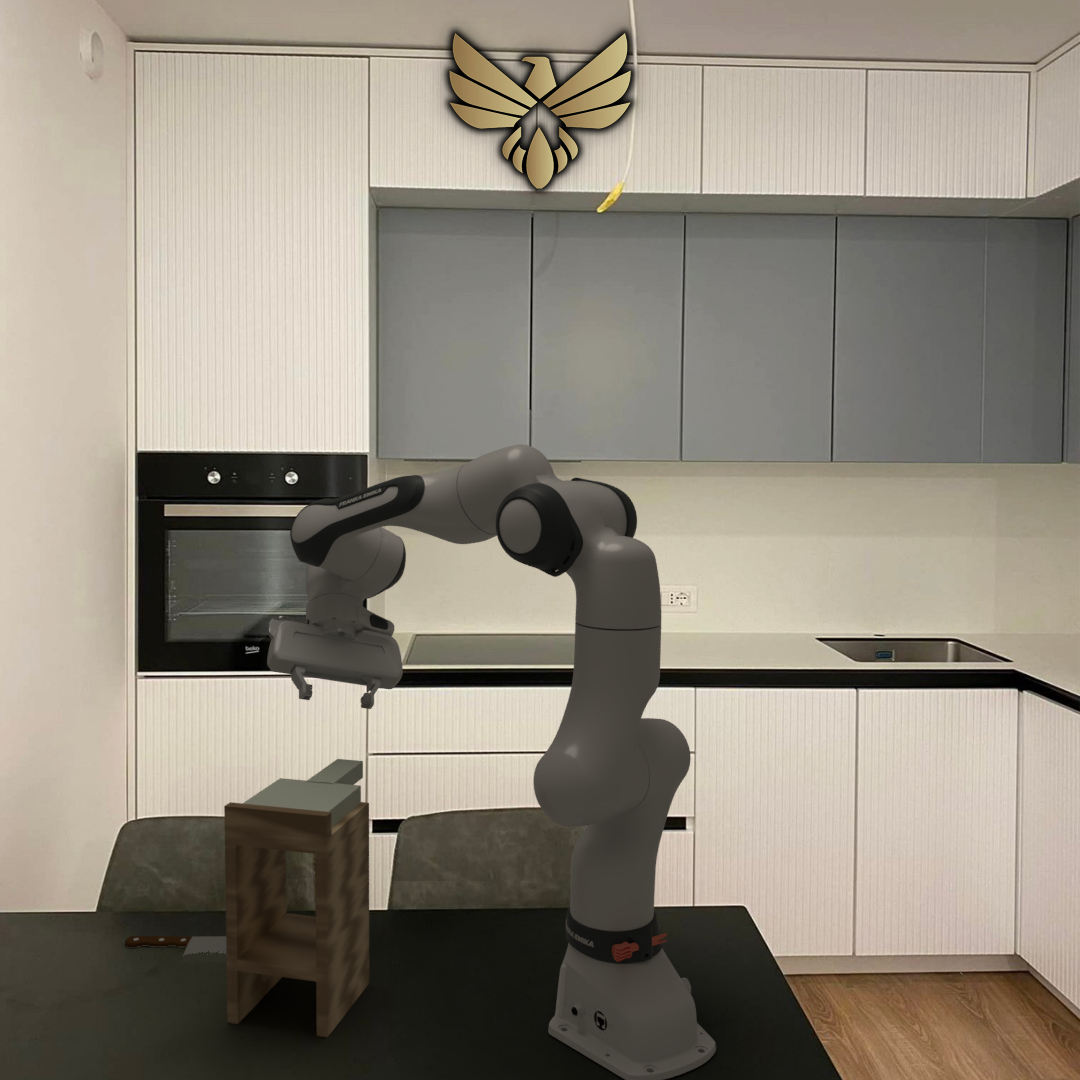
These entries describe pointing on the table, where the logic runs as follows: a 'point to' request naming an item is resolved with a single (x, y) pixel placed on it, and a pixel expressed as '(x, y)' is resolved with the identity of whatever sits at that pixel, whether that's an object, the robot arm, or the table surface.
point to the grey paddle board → (318, 791)
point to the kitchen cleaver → (182, 943)
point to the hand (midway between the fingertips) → (337, 702)
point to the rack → (289, 939)
